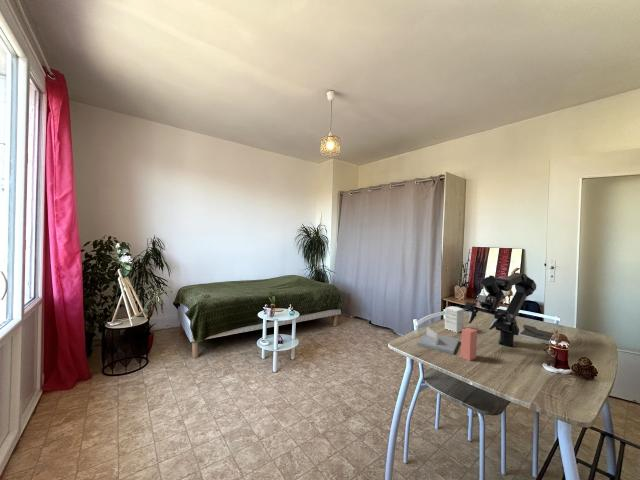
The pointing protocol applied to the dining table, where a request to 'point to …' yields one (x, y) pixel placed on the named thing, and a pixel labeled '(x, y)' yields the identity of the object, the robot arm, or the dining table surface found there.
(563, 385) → the dining table surface
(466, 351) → the boxed book
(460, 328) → the supplement box
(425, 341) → the shelf board
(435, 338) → the bookend
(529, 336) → the picture frame
